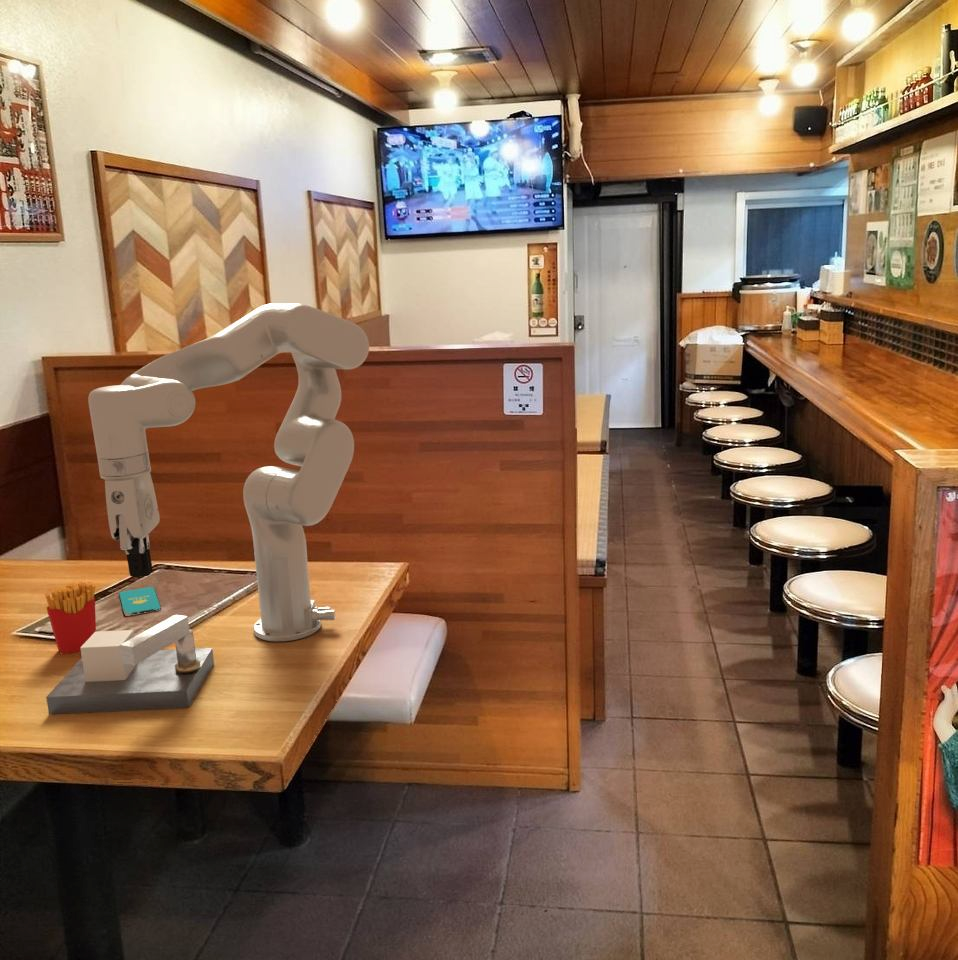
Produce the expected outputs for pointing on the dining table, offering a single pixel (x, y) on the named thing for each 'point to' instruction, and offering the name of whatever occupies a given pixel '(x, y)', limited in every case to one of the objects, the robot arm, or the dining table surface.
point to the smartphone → (139, 600)
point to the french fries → (72, 615)
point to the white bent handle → (163, 644)
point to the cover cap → (105, 656)
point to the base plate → (132, 687)
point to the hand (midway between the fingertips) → (141, 574)
